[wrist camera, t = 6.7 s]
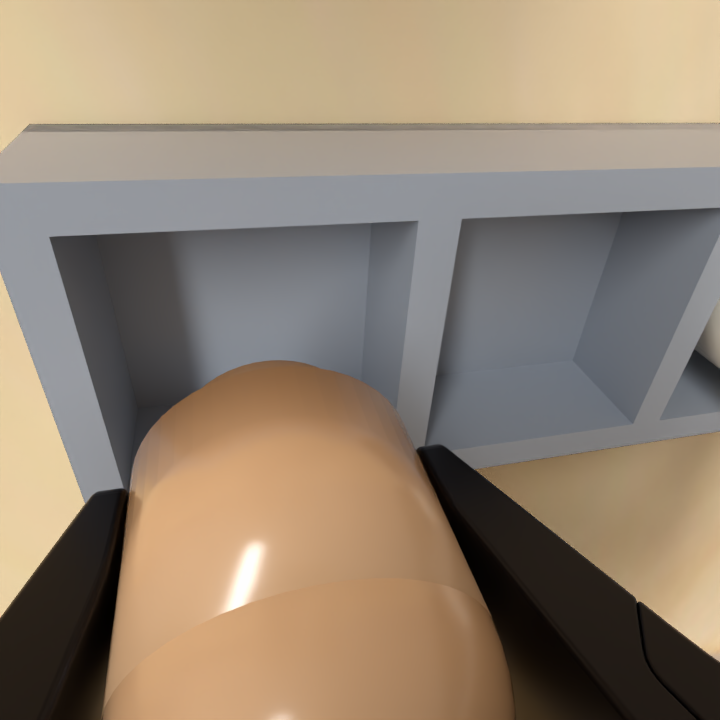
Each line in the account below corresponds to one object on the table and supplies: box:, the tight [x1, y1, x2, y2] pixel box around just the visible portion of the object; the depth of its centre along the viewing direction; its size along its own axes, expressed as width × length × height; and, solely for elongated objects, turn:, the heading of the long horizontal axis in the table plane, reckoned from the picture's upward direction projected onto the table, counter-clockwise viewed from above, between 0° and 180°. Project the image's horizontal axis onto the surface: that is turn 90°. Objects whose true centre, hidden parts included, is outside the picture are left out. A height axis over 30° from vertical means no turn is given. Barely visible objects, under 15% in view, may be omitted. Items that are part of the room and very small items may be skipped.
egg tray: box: [0, 123, 720, 504], centre depth 13 cm, size 21×7×4 cm, turn 87°
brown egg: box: [101, 360, 516, 720], centre depth 7 cm, size 4×4×6 cm
